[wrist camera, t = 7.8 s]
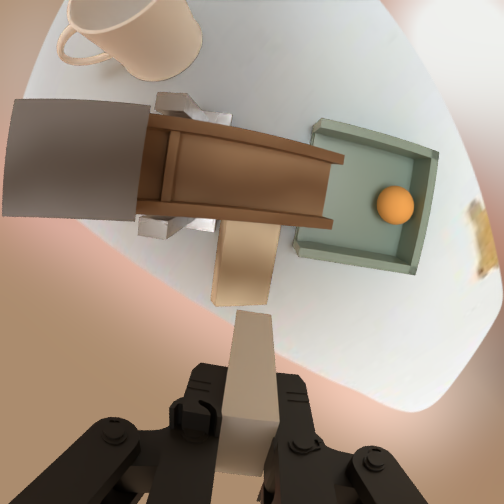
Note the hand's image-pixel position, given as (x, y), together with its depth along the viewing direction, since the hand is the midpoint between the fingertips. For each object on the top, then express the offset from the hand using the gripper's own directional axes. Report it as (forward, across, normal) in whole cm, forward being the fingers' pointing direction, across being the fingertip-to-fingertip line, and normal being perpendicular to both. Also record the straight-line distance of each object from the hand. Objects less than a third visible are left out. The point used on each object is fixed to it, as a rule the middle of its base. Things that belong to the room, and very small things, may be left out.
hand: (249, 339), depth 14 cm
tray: (+17, +9, +7) cm, 20 cm away
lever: (+9, -5, +4) cm, 11 cm away
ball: (+14, +12, +7) cm, 20 cm away
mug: (+17, -14, +19) cm, 29 cm away
